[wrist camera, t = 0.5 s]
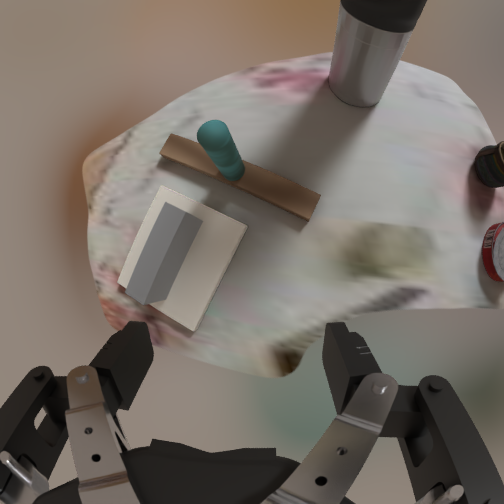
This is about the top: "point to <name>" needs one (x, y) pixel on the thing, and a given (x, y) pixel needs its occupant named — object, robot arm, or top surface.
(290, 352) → the top surface
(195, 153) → the teal peg on base
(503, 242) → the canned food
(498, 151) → the mate gourd
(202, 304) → the ridge stand
